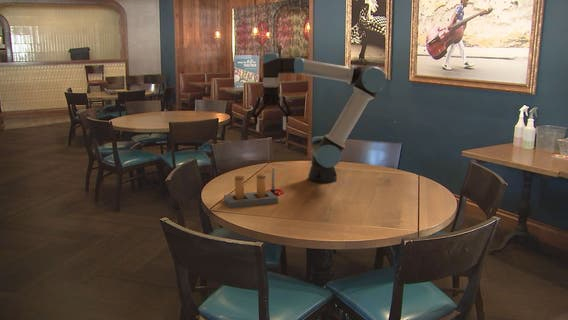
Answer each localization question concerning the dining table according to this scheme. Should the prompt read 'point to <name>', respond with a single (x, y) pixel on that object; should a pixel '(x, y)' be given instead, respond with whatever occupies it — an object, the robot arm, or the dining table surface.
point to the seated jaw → (239, 187)
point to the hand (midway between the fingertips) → (271, 130)
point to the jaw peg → (261, 186)
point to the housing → (250, 200)
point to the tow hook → (274, 186)
